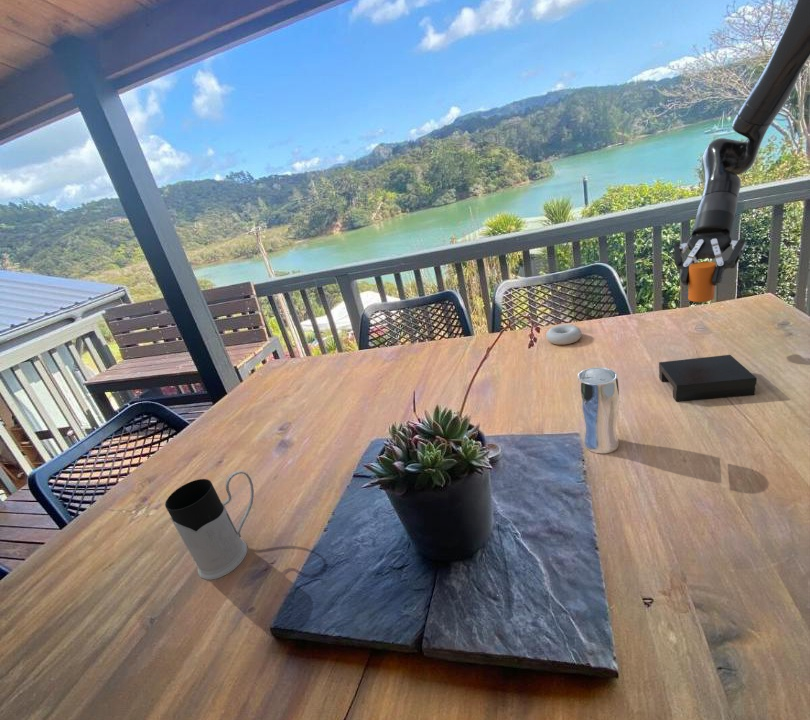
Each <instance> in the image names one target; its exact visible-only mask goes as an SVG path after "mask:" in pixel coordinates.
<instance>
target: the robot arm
mask: <svg viewBox="0 0 810 720" xmlns="http://www.w3.org/2000/svg"><path fill="white" fill-rule="evenodd" d="M809 58H810V0H797V1H796V3H795V5H794V8H793V10H792V12H791V14H790V17H789V18H788V22H787V23H786V26H785V27H784V30H783V33H782V34H781V36H780V38H779V40H778V42H777V44H776V46H775V48H774V51H773V52H772V54H771V56H770V59H769V60H768V62H767V64H766V65H765V67H764V69H763V71H762V73H761V75H760V76H759V78H758V80H757V81H756V83H755V85H754V86H753V88H752V89H751V90H750V93H749V94H748V96H747V97H746V99H745V100H744V102H743V104H742V105H741V107H740V109H739V110H738V112H737V113H736V115H735V117H734V118H733V120H732V124H731V128H732V130H733V131H734V132H735V133H737V134H738V135H741V136H743V137H745V138H746V140H745V141H744V140H743V141H742V140H737V139H731V138H725V137H720V138H719V137H718V138H716V139H714V140H712V141H711V142H710V143H709V144H708V145H707V146H706V148H705V150H704V151H703V154H702V158H701V168H702V174H703V175H702V176H703V184H704V186H703V191H702V196H701V200H700V203H699V205H698V207H697V211H696V214H695V219H694V223H693V227H692V232H691V237H690V238H689V239H688V241H687V242H683V243H680V242H675V243H674V244H673V253H674V254H673V255H674V265H675V267H676V269H677V270H681V273H680V282H681V284H683V286H689V265H691V264H693V263H697V262H699V261H700V260H704V259H710V260H711V259H713V260H714V259H715V263H716V267H715V270H714V275H713V279H712V284H713V286H715V287H716V286H718V284H721V283H722V281H723V278H724V277H723V276H724V272H725V270H727V269H735V267H736V266H737V264H738V262H739V260H740V259H741V257H742V255H743V253H744V251H745V249H746V246H747V245H746V240H745V239H744V238H739V239H738V240H737V239H736V240H735V239H732V232H733V228H734V223H735V219H736V216H737V209H738V199H739V196H740V190H741V186H742V179H741V177H740V176H739V175H742V174H744V173H746V172H747V171H749V170H750V169H751V168H752V167H753V165H754V163H755V161H756V160H757V156H758V153H759V149H760V147H761V144H762V142H763V140H764V138H765V135H766V133H767V131H768V130H769V128H770V126H771V125H772V123H773V122H774V120H775V119H776V118H777V116H778V115H779V113H780V111H781V110H782V109H783V107H784V106H785V104H786V102H787V101H788V99H789V98H790V97H791V94H792V93H793V90H794V88H795V86H796V84H797V81H798V80H799V78H800V75H801V72H802V71H803V68H804V67H805V65H806V63H807V61H808V59H809ZM730 247H731V250H732V252H731V253H730V255H729V257H728V259H727V260H724V258H723V253H725V251H727V249H729V248H730ZM687 249H689V251H690V252H689V254H688V255H687V258H686V259H685V260H684V261H683V254H684V253H685V252H686V251H687Z"/></svg>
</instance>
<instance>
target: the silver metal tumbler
mask: <svg viewBox="0 0 810 720" xmlns="http://www.w3.org/2000/svg"><path fill="white" fill-rule="evenodd" d="M620 399H621V395H620V385H619V375H618V373H617V372H616V371H615V370H613V369H612V368H608V367H603V366H600V367H599V366H598V367H597V366H596V367H589V368H586V369H582V370H581V371H579V372H578V374H577V400H578V406H579V410H580V413H581V417H582V420H583V424H584V438H583V445H584V447H585V448H586V449H587V450H588V451H590V452H591V453H595V454H600V455H601V454H603V455H604V454H611V453H613V452H615V451H616V450H617V449H619V445H620V443H619V439H618V434H617V421H618V416H619V410H620V403H621V401H620Z"/></svg>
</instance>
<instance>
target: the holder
mask: <svg viewBox="0 0 810 720" xmlns="http://www.w3.org/2000/svg"><path fill="white" fill-rule="evenodd" d="M241 474H244V476H245V477H246V479H248V483H249V488H250V497H249V503H248V504H247V507H246V510H245V512H244V515H243V516H242V519H241V521H240V523H239V525H238V527H237V528H236V526H235V524H234V523H233V520H232V518H231V516H230V515H229V512H228V510H227V509H226V505H228V504H229V503H230V502H231V501H232V494H231V493H232V492H231V490H230V482H231V480H232V479H233V478H234V477H235V476H237V475H241ZM225 491H226V493H227V496H228V497H227V499H226V500H225V501H223V502H222V501H221V499H220V497H219V495H218V492H217V491H216V489H215V487H214V485H213V483H212V481H211V480H210V479H207V478H199V479H194V480H191V481H189V482H187V483H185V484H184V485H181V486H180V487H178V488H177V489H175V490H174V491H173V492H171V494H170V495H169V496H168V497H167V498H166V500H165V504H164V507H165V509H166V511H167V512H168V514H169V516H170V520H171V522H172V524H173V525H174V527H175V529H176V531H177V533H178V534H179V536H180V538H181V539H182V542H183V544H184V545H185V547H186V549H187V550H188V552H189V553H190V555H191V557H192V559H193V561H194V562H195V564H196V566H197V574H198V576H199V577H200V578H201V579H203V580H207V581H211V580H217V579H220V578H222V577H225V576H226V575H228V574H230V573H231V572H233V571H234V570H235V569H236V568H238V566H240V564H241V563H242V562H243V561H244V559H245V558H246V555H247V553H248V545H247V543H246V541H244V539H242V534H241V531H242V529H243V526H244V524H245V522H246V520H247V518H248V516H249V513H250V510H251V508H252V507H253V503H254V497H255V496H254V495H255V494H254V493H255V490H254V483H253V481H252V478H251V476H250V475H249V474H248V473H247V472H245V471H243V470H238V471H235V472H233V473H231V474H230V475H229V476H228V477H227V479H226V482H225Z"/></svg>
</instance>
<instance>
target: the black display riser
mask: <svg viewBox="0 0 810 720" xmlns="http://www.w3.org/2000/svg"><path fill="white" fill-rule="evenodd" d="M658 370H659V371H658V378H659V380H660V381H661V382H669V384H670V385H671V386H672V398H673V400H674V401H675V402H676V403H679V402H689V401H699V400H700V401H701V400H713V399H724V398H736V397H745V396H746V397H748V396H755V393H756V385H757V379H758V378H757V377H756V375H754V374H753V373H752V372H751V371H750V370H748V368H746V367H745V366H744V365H743V364H741V362H740V361H738V360H737V359H736V358H735V357H733V356H732V355H731V354H723V355H713V356H706V357H697V358H686V359H677V360H669V361H660V362H658Z"/></svg>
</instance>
